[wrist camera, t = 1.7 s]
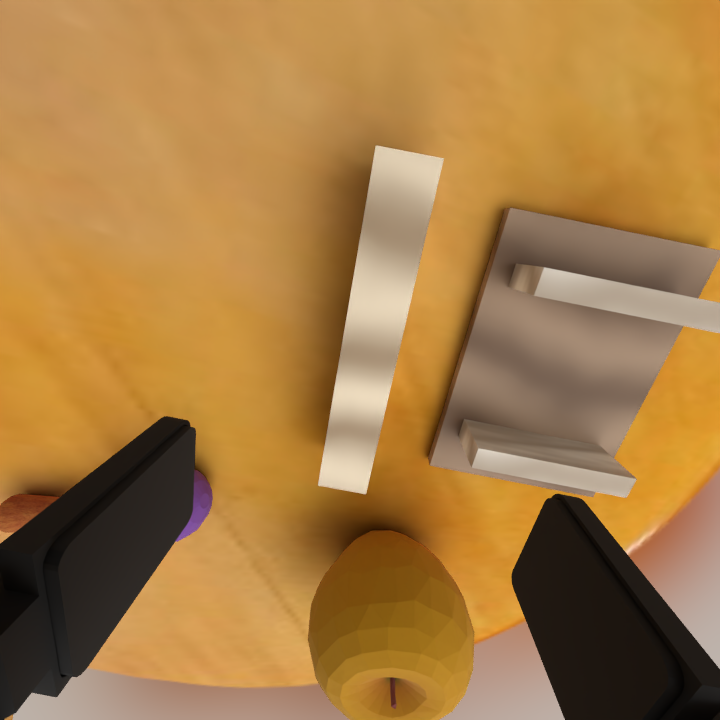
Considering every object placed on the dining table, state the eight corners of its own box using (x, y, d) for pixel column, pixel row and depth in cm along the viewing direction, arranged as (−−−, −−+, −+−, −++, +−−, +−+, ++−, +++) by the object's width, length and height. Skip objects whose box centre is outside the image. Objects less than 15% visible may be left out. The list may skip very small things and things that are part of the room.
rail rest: (504, 209, 22) (538, 199, 17) (708, 250, 22) (796, 252, 18) (428, 458, 29) (437, 500, 24) (585, 489, 29) (626, 536, 24)
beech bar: (376, 166, 22) (375, 145, 17) (429, 176, 22) (443, 158, 17) (327, 446, 29) (317, 485, 25) (367, 454, 29) (365, 494, 25)
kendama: (-35, 501, 28) (170, 486, 25) (41, 468, 34) (217, 452, 30) (-14, 564, 29) (189, 559, 25) (58, 521, 35) (231, 512, 31)
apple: (463, 510, 30) (509, 656, 20) (444, 609, 35) (473, 773, 24) (322, 499, 31) (292, 636, 20) (321, 598, 35) (295, 755, 24)
